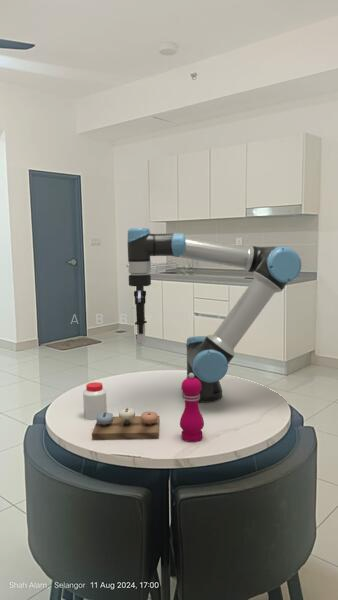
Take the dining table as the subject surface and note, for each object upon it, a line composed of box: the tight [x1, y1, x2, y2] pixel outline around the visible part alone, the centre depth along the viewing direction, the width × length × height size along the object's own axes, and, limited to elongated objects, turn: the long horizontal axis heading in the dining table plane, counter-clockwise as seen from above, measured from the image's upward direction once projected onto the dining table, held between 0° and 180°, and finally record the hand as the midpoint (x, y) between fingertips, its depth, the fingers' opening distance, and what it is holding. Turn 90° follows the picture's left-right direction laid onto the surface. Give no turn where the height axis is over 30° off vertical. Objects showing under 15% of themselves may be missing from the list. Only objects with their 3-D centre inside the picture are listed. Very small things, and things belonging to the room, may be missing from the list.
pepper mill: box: [179, 373, 205, 443], centre depth 145 cm, size 7×7×20 cm
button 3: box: [96, 411, 114, 426], centre depth 152 cm, size 5×5×4 cm
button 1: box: [140, 411, 158, 425], centre depth 152 cm, size 5×5×4 cm
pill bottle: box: [82, 381, 108, 421], centre depth 165 cm, size 8×8×11 cm
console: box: [91, 415, 160, 441], centre depth 152 cm, size 20×14×2 cm
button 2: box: [118, 407, 136, 424], centre depth 152 cm, size 5×5×4 cm
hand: (141, 342), depth 167 cm, fingers closed
